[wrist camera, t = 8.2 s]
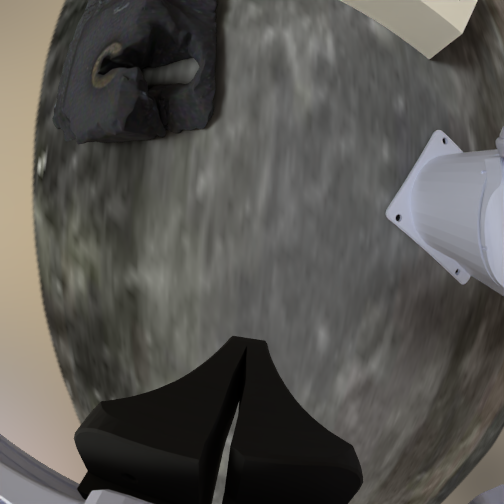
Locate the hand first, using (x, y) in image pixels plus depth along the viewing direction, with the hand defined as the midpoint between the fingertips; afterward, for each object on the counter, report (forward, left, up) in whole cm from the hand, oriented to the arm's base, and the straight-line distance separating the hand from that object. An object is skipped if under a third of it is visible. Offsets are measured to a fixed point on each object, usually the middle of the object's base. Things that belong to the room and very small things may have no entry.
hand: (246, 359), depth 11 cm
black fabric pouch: (+20, -12, -11) cm, 26 cm away
